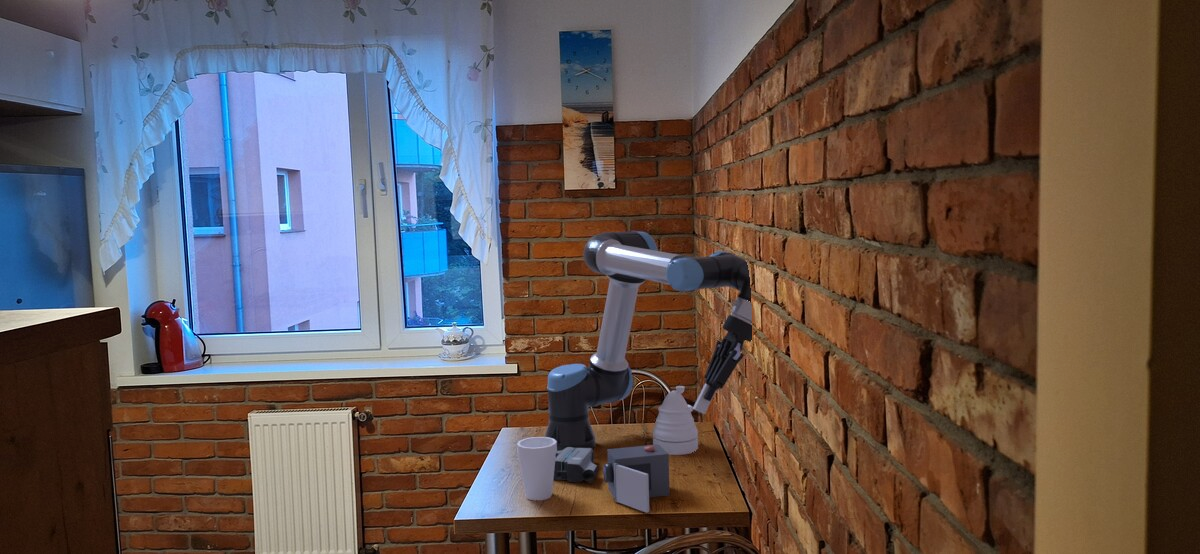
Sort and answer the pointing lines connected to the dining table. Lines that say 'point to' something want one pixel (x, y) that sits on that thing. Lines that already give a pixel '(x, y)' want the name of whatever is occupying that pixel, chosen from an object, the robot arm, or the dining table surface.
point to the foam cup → (537, 466)
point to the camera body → (641, 466)
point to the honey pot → (675, 425)
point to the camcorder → (575, 465)
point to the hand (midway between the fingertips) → (698, 411)
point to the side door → (631, 487)
